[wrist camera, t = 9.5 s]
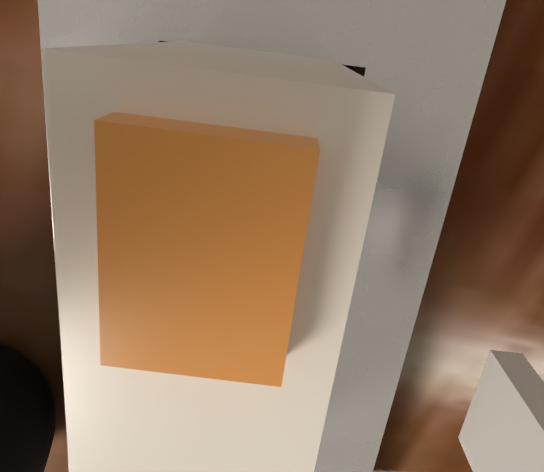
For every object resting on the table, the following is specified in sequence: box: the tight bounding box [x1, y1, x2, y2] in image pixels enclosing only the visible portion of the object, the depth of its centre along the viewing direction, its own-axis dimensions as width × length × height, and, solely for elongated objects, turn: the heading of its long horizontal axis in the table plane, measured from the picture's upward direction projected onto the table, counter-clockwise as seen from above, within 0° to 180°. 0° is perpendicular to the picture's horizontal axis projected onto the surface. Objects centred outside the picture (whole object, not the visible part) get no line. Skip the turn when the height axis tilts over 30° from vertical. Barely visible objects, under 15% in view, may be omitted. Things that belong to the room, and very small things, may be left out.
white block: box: [42, 41, 395, 472], centre depth 12 cm, size 4×14×10 cm, turn 173°
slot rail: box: [38, 0, 506, 472], centre depth 17 cm, size 12×23×2 cm, turn 173°
